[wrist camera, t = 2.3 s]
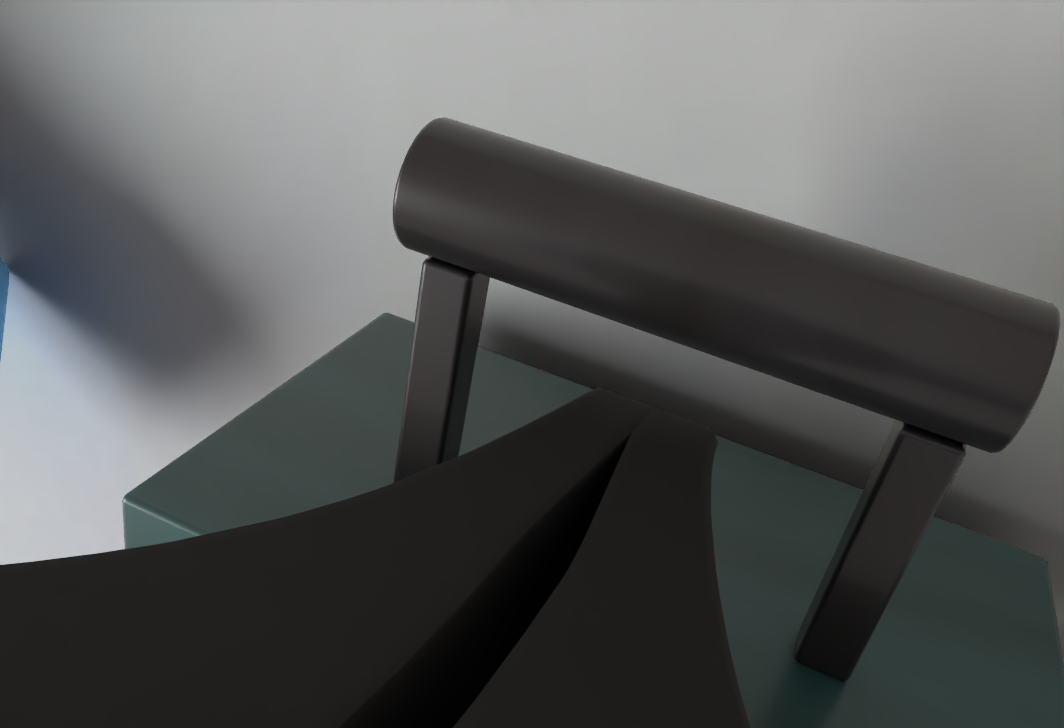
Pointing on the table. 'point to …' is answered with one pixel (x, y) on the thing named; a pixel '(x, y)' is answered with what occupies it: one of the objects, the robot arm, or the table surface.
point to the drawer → (738, 471)
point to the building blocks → (3, 297)
